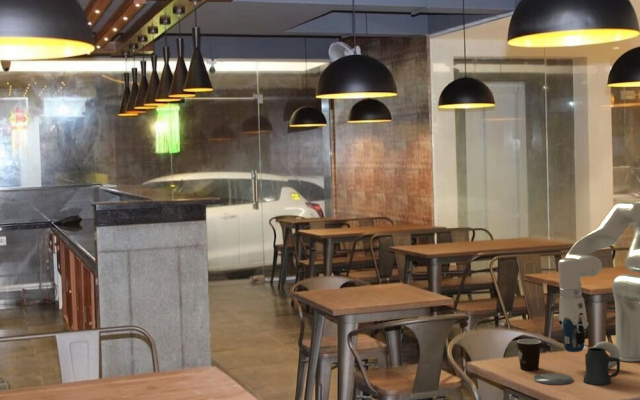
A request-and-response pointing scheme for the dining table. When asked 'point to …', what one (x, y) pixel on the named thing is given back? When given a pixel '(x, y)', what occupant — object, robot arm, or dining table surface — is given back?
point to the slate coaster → (553, 379)
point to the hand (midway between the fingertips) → (573, 341)
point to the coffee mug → (529, 354)
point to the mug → (599, 367)
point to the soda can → (571, 337)
